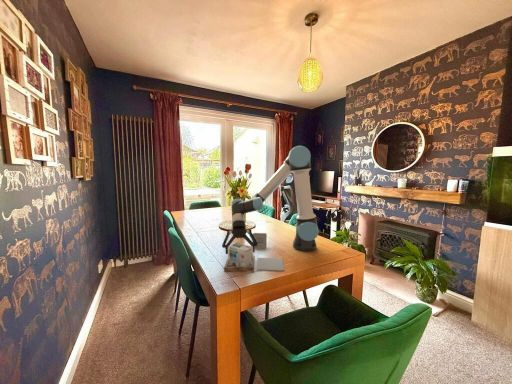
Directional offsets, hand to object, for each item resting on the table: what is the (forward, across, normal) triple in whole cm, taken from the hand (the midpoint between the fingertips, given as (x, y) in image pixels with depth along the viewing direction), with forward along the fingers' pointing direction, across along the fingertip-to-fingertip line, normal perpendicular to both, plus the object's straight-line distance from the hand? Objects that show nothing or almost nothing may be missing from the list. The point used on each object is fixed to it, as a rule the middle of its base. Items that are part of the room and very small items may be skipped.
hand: (240, 259), depth 112 cm
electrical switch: (-16, -14, -23) cm, 31 cm away
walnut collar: (+1, 0, -5) cm, 5 cm away
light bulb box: (+2, 0, -4) cm, 5 cm away
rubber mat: (+3, -16, -4) cm, 17 cm away
